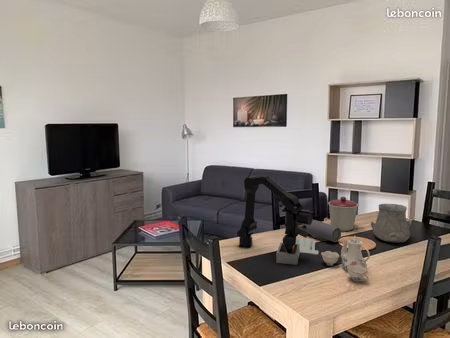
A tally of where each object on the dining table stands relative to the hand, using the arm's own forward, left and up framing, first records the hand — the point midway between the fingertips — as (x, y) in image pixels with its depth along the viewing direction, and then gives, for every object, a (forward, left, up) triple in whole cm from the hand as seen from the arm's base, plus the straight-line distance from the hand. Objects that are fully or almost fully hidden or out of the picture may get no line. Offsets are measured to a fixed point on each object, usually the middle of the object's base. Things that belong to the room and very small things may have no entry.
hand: (290, 251), depth 171 cm
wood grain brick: (-1, 0, -3) cm, 4 cm away
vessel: (+53, +41, -4) cm, 67 cm away
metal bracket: (+6, +15, -4) cm, 17 cm away
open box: (-1, 0, -4) cm, 4 cm away
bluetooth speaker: (+14, +34, -4) cm, 37 cm away
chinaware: (+27, -8, -4) cm, 29 cm away
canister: (+27, +56, -4) cm, 62 cm away
